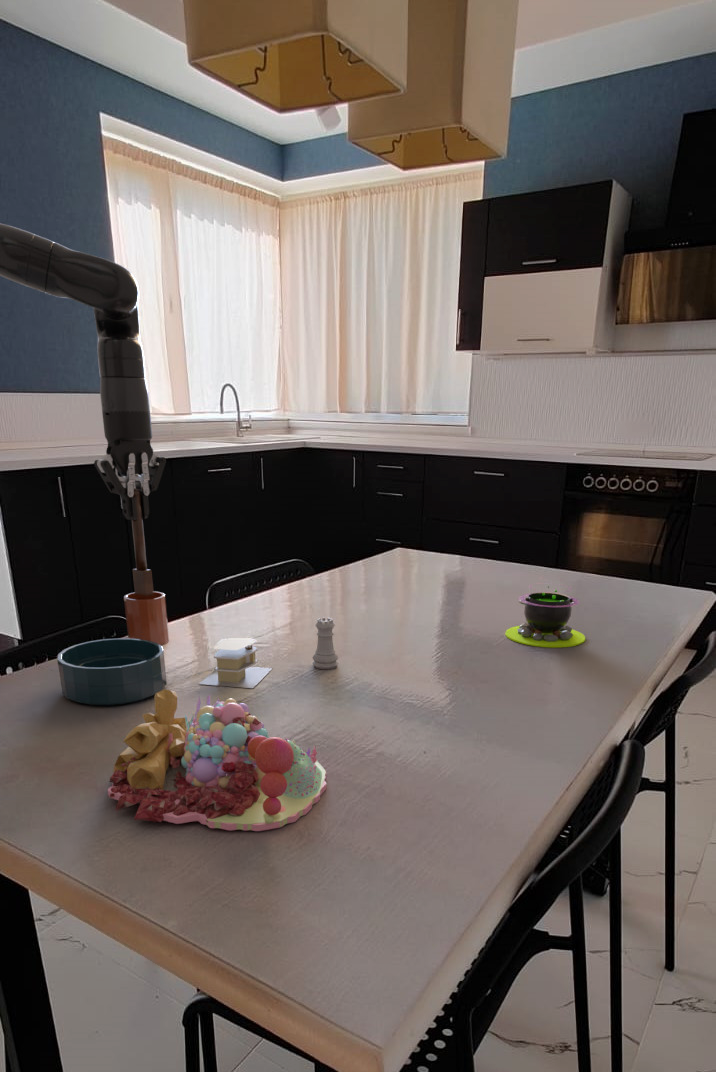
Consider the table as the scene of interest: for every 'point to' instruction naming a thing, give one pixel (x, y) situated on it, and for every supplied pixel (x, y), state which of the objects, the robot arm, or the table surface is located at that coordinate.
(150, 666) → the bowl
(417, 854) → the table surface
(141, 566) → the stirring stick
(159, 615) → the crock
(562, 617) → the toy cauldron
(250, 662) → the stacked layers on plate
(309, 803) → the pastel sphere sculpture
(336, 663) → the rook chess piece
